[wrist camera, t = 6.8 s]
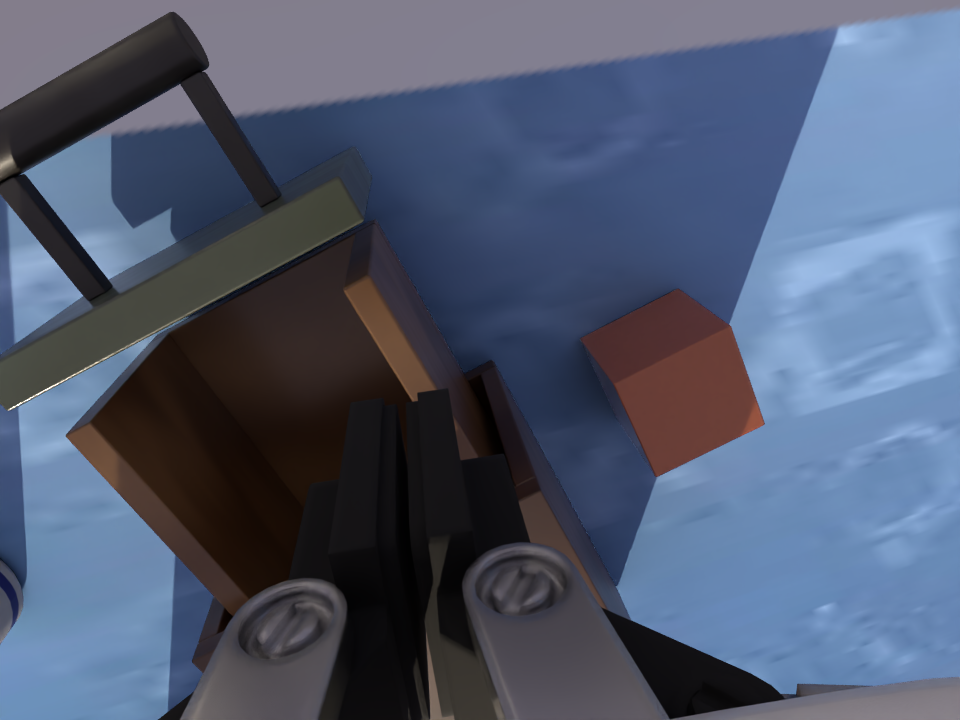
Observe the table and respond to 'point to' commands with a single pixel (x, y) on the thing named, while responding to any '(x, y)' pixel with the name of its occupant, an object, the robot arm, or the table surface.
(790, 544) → the table surface
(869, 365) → the table surface
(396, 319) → the drawer
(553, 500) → the cabinet
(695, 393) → the block
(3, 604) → the energy drink
